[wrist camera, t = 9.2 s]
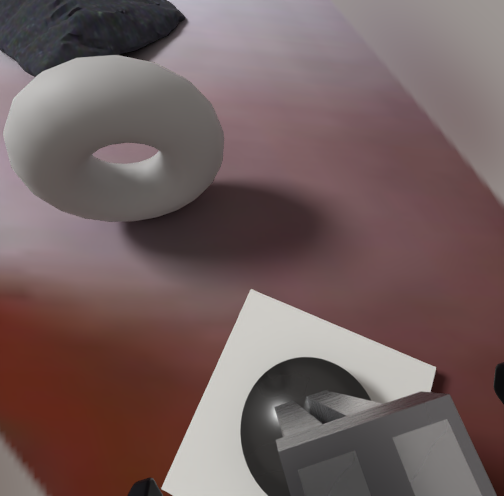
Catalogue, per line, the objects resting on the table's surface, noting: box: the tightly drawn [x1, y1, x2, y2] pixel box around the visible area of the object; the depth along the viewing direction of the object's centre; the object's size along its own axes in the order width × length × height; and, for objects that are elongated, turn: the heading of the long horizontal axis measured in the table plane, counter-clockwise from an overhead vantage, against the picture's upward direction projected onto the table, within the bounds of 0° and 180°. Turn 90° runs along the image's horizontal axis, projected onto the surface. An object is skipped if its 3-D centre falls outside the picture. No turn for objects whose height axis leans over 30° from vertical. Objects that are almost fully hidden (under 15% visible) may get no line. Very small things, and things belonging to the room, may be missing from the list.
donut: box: [3, 55, 224, 222], centre depth 17 cm, size 10×3×10 cm, turn 105°
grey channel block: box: [240, 357, 497, 496], centre depth 10 cm, size 6×6×12 cm
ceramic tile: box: [161, 289, 436, 496], centre depth 16 cm, size 10×10×1 cm
